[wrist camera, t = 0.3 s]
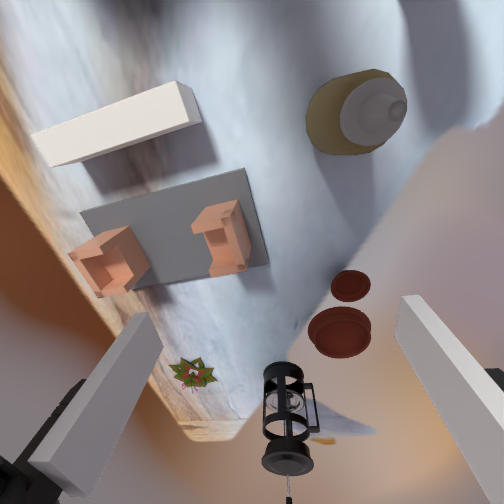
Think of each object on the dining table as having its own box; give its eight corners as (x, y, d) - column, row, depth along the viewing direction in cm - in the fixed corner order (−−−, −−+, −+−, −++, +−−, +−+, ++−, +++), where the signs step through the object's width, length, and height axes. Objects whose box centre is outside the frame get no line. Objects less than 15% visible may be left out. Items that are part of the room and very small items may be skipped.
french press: (264, 388, 59) (260, 525, 38) (257, 362, 55) (248, 502, 34) (312, 385, 57) (335, 529, 37) (309, 359, 53) (332, 504, 32)
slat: (66, 133, 35) (29, 134, 29) (191, 88, 31) (175, 80, 26) (82, 161, 36) (50, 167, 31) (202, 122, 33) (189, 121, 27)
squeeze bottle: (325, 164, 34) (373, 199, 18) (289, 117, 31) (307, 108, 15) (378, 120, 31) (491, 113, 15) (342, 64, 28) (431, -16, 12)
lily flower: (160, 359, 58) (152, 377, 54) (203, 349, 55) (197, 367, 51) (185, 389, 62) (179, 407, 58) (226, 381, 59) (222, 399, 55)
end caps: (84, 210, 40) (37, 231, 32) (244, 167, 35) (235, 179, 27) (130, 286, 47) (101, 319, 39) (268, 260, 42) (267, 291, 34)
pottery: (304, 341, 51) (306, 359, 47) (314, 260, 41) (318, 274, 37) (360, 344, 50) (368, 363, 46) (384, 262, 40) (395, 276, 37)
